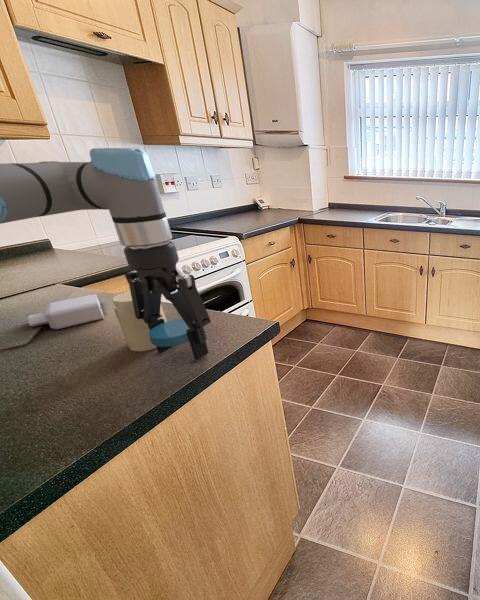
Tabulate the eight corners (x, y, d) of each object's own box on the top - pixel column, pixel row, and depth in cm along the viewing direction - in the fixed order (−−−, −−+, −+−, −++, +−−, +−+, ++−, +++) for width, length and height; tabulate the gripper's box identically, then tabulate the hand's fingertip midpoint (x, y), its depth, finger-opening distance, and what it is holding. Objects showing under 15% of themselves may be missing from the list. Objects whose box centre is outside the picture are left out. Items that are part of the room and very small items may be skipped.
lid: (212, 328, 69) (210, 320, 69) (175, 350, 62) (172, 341, 61) (179, 322, 72) (177, 315, 71) (140, 343, 64) (137, 334, 63)
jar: (126, 355, 71) (106, 305, 66) (131, 338, 77) (114, 292, 72) (170, 345, 74) (155, 297, 70) (172, 330, 81) (158, 285, 76)
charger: (23, 326, 83) (101, 308, 92) (20, 340, 76) (104, 319, 86) (14, 308, 81) (95, 292, 90) (10, 321, 75) (97, 302, 84)
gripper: (214, 242, 60) (240, 350, 69) (124, 235, 65) (159, 336, 74) (178, 253, 53) (212, 371, 62) (81, 245, 59) (125, 355, 68)
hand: (183, 352), depth 68 cm, fingers closed on lid, 8 cm apart
